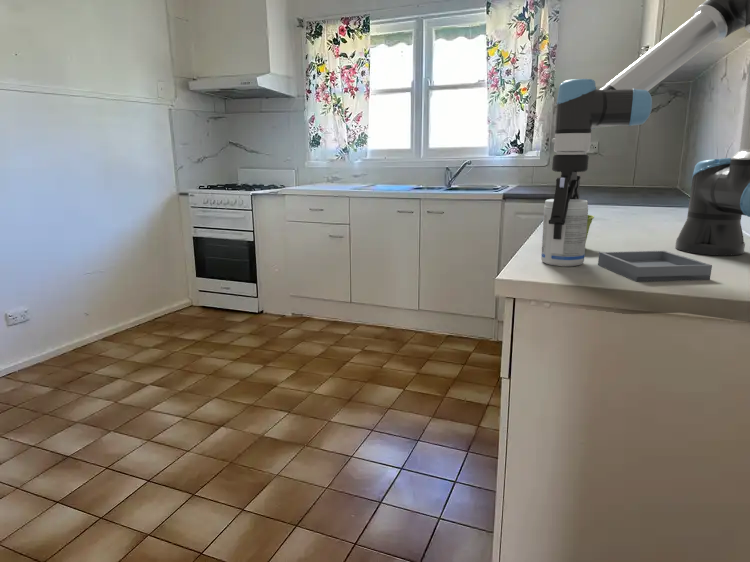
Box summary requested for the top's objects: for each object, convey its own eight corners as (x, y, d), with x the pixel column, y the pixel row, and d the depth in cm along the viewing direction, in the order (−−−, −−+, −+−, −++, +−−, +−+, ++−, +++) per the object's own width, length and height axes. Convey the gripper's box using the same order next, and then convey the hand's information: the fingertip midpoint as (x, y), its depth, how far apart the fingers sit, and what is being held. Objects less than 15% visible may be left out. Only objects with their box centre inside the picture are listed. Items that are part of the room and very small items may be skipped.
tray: (662, 263, 120) (664, 250, 119) (709, 279, 105) (712, 265, 104) (597, 264, 119) (599, 252, 118) (636, 281, 103) (638, 267, 103)
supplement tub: (592, 264, 120) (598, 200, 116) (566, 269, 115) (572, 203, 111) (557, 257, 127) (562, 197, 124) (531, 261, 122) (536, 199, 119)
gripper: (565, 153, 127) (558, 239, 132) (540, 154, 107) (532, 256, 112) (597, 153, 123) (589, 241, 128) (578, 154, 103) (568, 259, 108)
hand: (562, 248), depth 120 cm, fingers open, 12 cm apart
